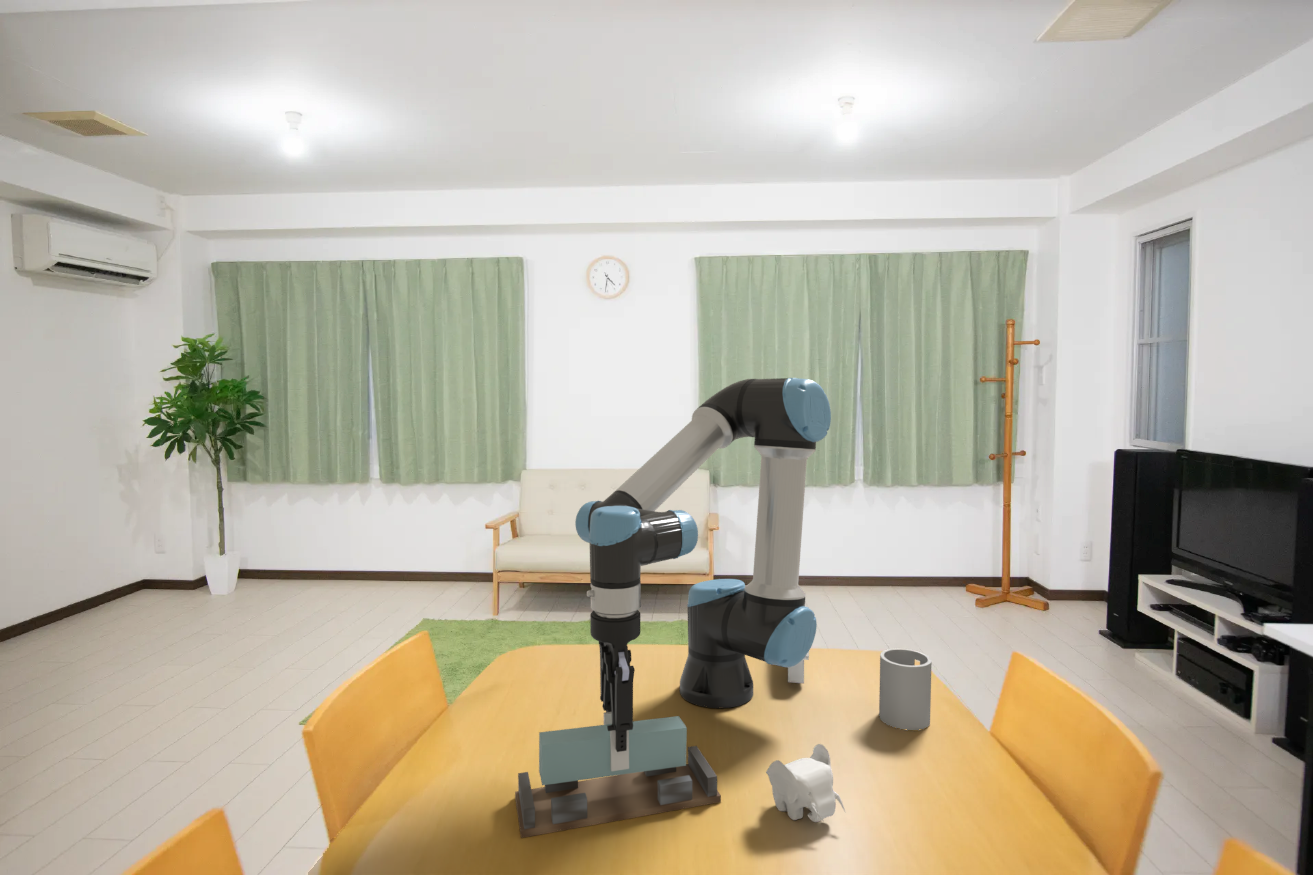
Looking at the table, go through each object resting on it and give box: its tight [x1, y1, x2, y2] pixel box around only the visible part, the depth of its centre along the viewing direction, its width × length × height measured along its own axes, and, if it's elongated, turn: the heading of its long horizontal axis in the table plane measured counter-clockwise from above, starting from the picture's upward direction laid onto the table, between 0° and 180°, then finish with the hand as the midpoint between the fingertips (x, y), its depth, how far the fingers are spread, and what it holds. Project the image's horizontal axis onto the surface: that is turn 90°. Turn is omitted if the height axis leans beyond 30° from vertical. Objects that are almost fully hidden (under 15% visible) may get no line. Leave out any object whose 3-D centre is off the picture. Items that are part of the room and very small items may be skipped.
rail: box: [538, 715, 688, 786], centre depth 107 cm, size 22×4×6 cm, turn 106°
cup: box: [878, 647, 932, 731], centre depth 133 cm, size 9×9×12 cm
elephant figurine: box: [765, 743, 846, 823], centre depth 104 cm, size 10×12×9 cm
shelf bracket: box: [787, 651, 810, 684], centre depth 159 cm, size 6×25×13 cm, turn 169°
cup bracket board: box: [514, 745, 722, 839], centre depth 107 cm, size 30×10×4 cm, turn 106°
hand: (616, 760), depth 107 cm, fingers closed on rail, 4 cm apart
